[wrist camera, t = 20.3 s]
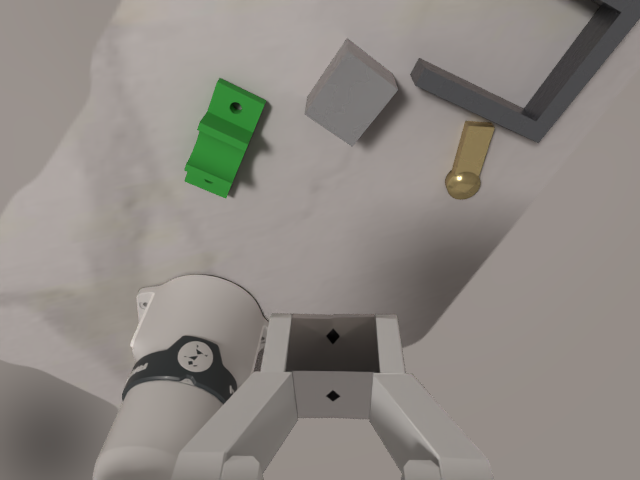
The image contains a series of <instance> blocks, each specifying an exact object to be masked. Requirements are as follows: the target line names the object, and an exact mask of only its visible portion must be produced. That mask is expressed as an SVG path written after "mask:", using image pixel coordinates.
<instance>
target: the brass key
mask: <svg viewBox="0 0 640 480" xmlns="http://www.w3.org/2000/svg"><path fill="white" fill-rule="evenodd" d="M494 128H495V127H494V126H493V125H492V123H491V122H475V121H465V124H464V128H463V131H462V135H461V139H460V142H459V146H458V150H457V153H456V157H455V160H454V164H453V168H452V170H451V171H450V172H449V173H448V175H447V176H446V179H445V185H446V188H447V190H448V193H449V194H450V195H451V196H452V197H453V198H455V199H467V198H469V197H471V196H473V195H474V194H475V193H476V192H477V191H478V189H479V187H480V179H479V175H480V172H481V169H482V166H483V162H484V159H485V156H486V153H487V150H488V147H489V144H490V141H491V138H492V135H493V131H494Z"/></svg>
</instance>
